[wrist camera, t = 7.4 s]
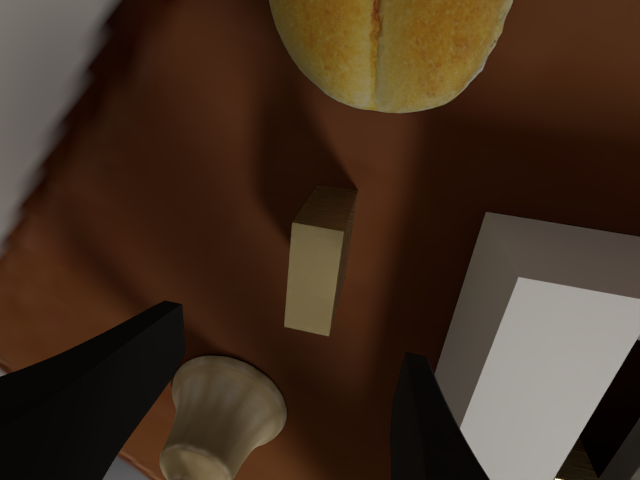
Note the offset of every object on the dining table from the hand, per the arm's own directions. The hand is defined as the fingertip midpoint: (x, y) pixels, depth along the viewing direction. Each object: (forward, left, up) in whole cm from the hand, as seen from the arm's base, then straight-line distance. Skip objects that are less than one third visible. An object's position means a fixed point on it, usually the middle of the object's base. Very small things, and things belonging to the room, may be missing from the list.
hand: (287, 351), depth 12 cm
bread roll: (+11, -1, -9) cm, 14 cm away
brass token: (0, 0, -9) cm, 9 cm away
